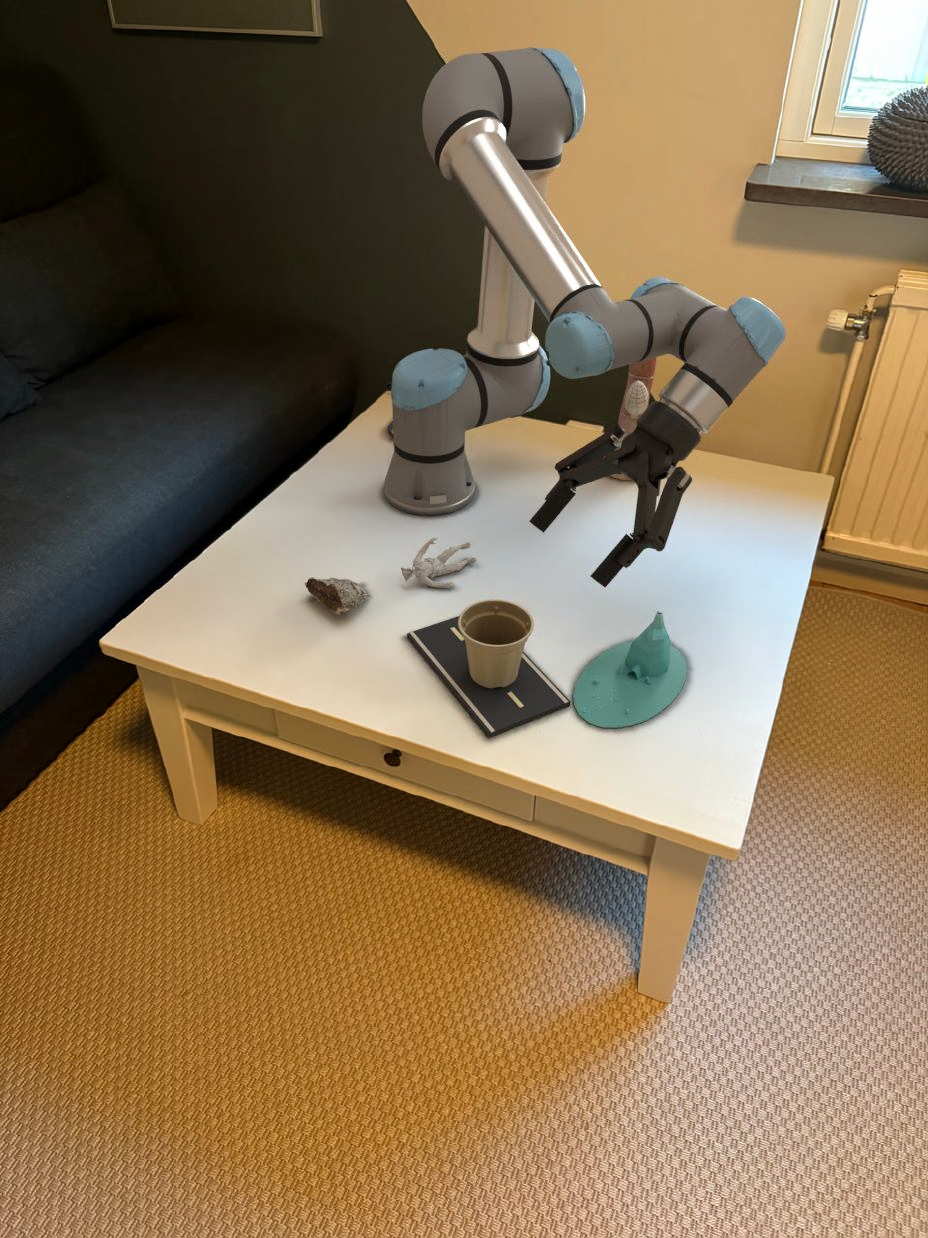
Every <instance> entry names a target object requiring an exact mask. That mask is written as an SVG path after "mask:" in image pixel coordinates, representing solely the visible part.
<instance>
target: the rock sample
mask: <svg viewBox="0 0 928 1238" xmlns="http://www.w3.org/2000/svg"><path fill="white" fill-rule="evenodd" d="M304 586H305V588H306V589H307V591H308V593H309V594H310V595H312V596H313V597H314V598H315V599H316V600H317V601H318V602H320V603H322V605H324V606H325V608H326V609H327V610H329V611H332V613H334V614H336V615H339V616H340V615H343V614H344V613H345V612H347V611H349V610H352V609H356V607H358V606H359V605H360V604H361V603H362V602H363V603H365V602H366V601H367V600H368V599H369V598H370V597H371V593H369V592H368V591H366V590H365V588H363V587H362V586H361V584H360V583H358V582H356V581H353V580H351V579H349V578H341V579H339V578H335V577H330V578H322V579H321V578H315V577H312V576H310V577H309V578H308V579H307V581H305V582H304Z"/></svg>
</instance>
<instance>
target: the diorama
mask: <svg viewBox="0 0 928 1238" xmlns="http://www.w3.org/2000/svg"><path fill="white" fill-rule="evenodd" d="M669 635H670V634H669V632H668V630H667V628H666V626H665V619H664V613H663V612H662V611H656V613H655V616H654V618H653V620H652V622H650V624H648V626H646V628H645V629H644V630H643V631H642V632H641V633H640V634H639V635H638V636H637V637H636V638H635V639H634V640H630V641H627V642H624V643H620V644H617V645H615V646H613V647H611V648H609V649H607V650H605V651H604V652H602V653H601V654H599V656H597V657H595V658H594V659H593V660H592V661H590V663H589V664H588V665H587V666H586V667H585V669H584V670H583V671H581V673H580V676H579V678H578V679H577V681H576V682H575V686H574V690H573V694H572V697H573V704H574V705H573V706H574V708H575V710H576V712H577V713H578V715H579V717H580V718H581V719H582V720H584V721H585V722H586V723H588V724H590V725H591V726H592V725H593V726H596V727H598V728H602V729H613V730H616V729H621V728H628V727H632V726H633V727H634V726H636V725H639V724H641V723H645V722H646V721H648V720H650V719H652V718H654V717H655V716H657V715H659V714H660V713H662V712H663V711H664V710H665V709H666V708H668V706H670V705H671V704H672V703H673V702H674V701H675V699H676V698H677V697H678V695H679V694H680V692H681V691H682V688H683V686H684V683H685V681H686V678H687V669H688V666H687V662H686V659H685V657H684V655H683V654H682V652H680V651H679V649H677V648H676V647H674V646H673V645H672V640H671V638H670V636H669Z"/></svg>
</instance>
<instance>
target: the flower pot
mask: <svg viewBox="0 0 928 1238" xmlns="http://www.w3.org/2000/svg"><path fill="white" fill-rule="evenodd" d="M458 616H459V619H458V627H459V630H460V632H461V633H462V635H463V638H464V640H465V643H466V649H467V656H468V662H469V671H470V675H471V677H472V679H473V680H474V681H475V682H476V683H477V684H479V685H481V686H483V687H487V688H495V687H506V686H508V685H510V684H511V683H513V682H514V681H515V679H516V677H517V675H518V670H519V665H520V661H521V658H522V654H523V652H524V649H525V646H526V643H527V641H528V640H529V637H530V636H531V635H532V633H533V632H534V628H535V621H534V618H533V616H532V614H531V613H530V612H529V610H527V609H526V608H525V607H523V606H522V605H520V604H517V602H516V603H515V602H513V601H509V600H506V599H499V598H498V599H496V598H495V599H494V598H493V599H490V598H489V599H483V600H478V601H475V602H473V603H471V604H469V605H468V606H466V607H465V608H464V609H463V610H462V611H461V613H460V615H458Z"/></svg>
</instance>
